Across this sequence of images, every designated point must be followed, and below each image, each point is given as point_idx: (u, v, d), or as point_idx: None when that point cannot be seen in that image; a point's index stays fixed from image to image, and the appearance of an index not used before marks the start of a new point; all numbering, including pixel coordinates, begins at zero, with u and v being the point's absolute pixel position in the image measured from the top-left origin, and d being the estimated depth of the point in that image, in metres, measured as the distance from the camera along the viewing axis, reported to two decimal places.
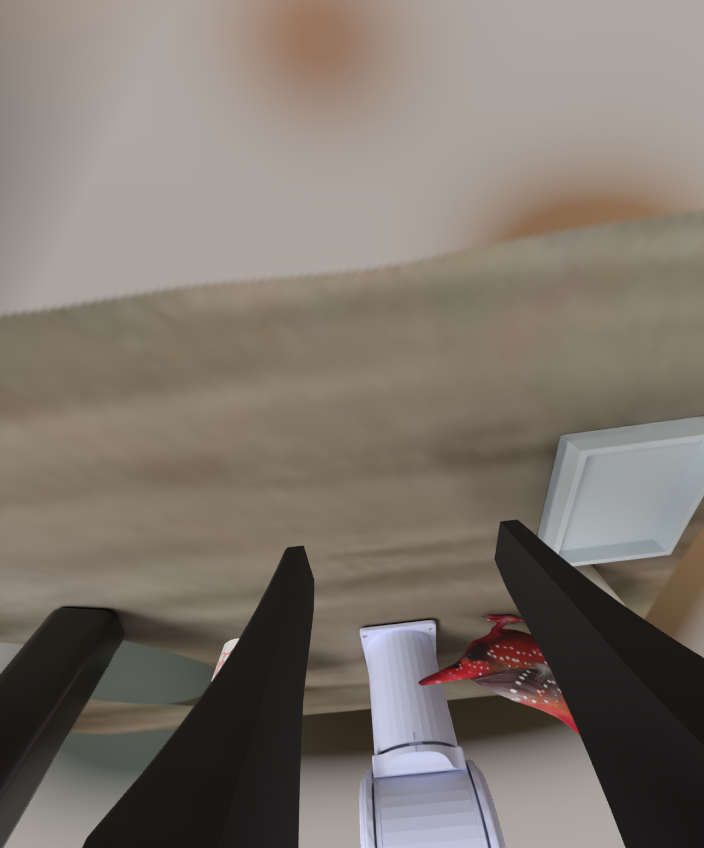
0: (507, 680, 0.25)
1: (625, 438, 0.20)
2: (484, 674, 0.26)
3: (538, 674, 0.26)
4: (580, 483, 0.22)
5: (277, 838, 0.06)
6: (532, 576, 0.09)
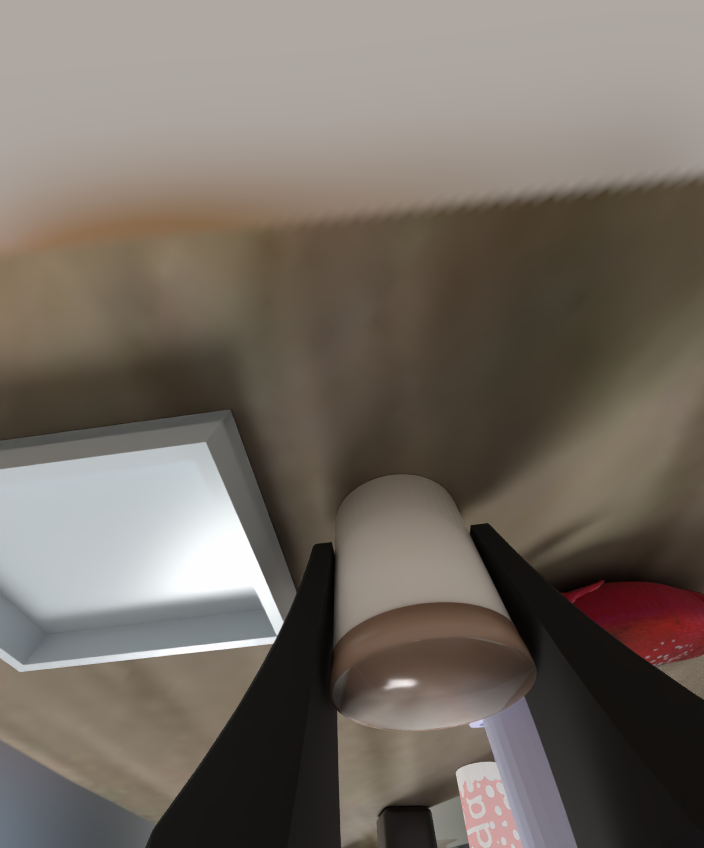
0: None
1: None
2: None
3: None
4: (108, 609, 0.13)
5: (326, 833, 0.06)
6: (497, 580, 0.09)
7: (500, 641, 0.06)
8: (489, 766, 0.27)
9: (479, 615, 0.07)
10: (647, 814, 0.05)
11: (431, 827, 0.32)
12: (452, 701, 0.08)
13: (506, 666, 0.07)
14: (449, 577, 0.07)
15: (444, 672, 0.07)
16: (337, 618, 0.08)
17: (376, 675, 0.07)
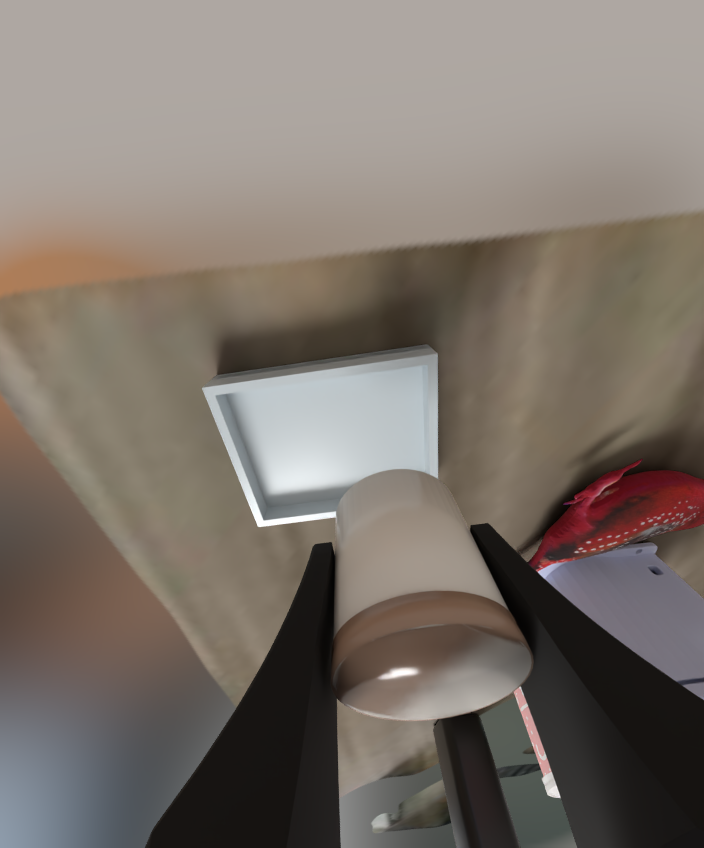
0: (596, 554, 0.22)
1: None
2: (568, 561, 0.22)
3: (640, 537, 0.20)
4: (314, 487, 0.20)
5: (326, 833, 0.06)
6: (497, 580, 0.09)
7: (496, 628, 0.07)
8: None
9: (476, 603, 0.07)
10: (647, 814, 0.05)
11: (482, 728, 0.39)
12: (451, 690, 0.08)
13: (503, 654, 0.07)
14: (447, 568, 0.08)
15: (442, 661, 0.07)
16: (337, 609, 0.08)
17: (374, 662, 0.07)
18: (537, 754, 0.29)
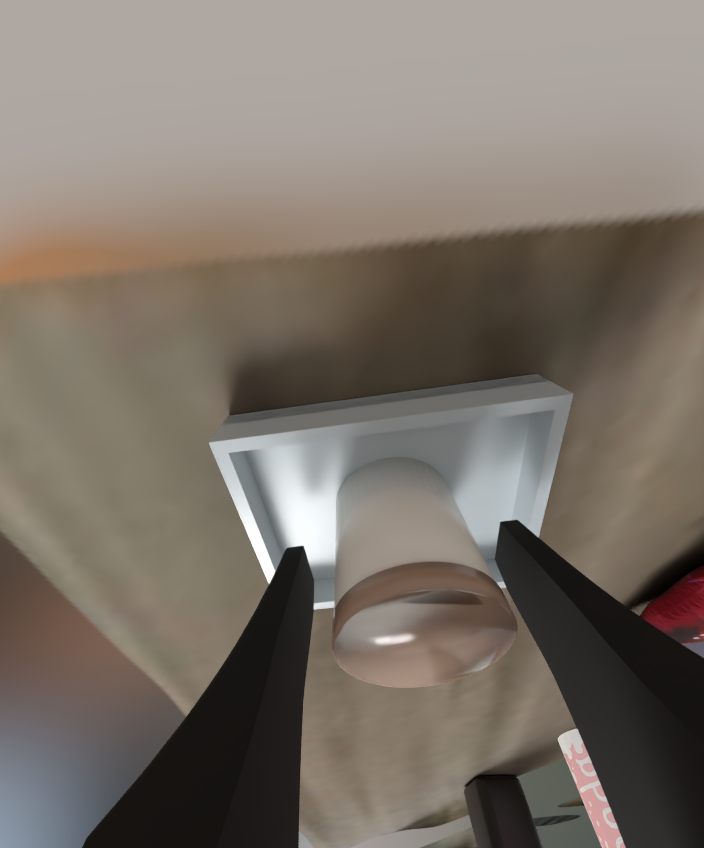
0: None
1: None
2: None
3: None
4: None
5: (277, 838, 0.06)
6: (531, 576, 0.09)
7: (482, 593, 0.07)
8: None
9: (464, 572, 0.08)
10: None
11: (522, 794, 0.34)
12: (443, 656, 0.09)
13: (489, 619, 0.08)
14: (438, 542, 0.08)
15: (434, 625, 0.08)
16: (338, 583, 0.09)
17: (373, 627, 0.08)
18: None
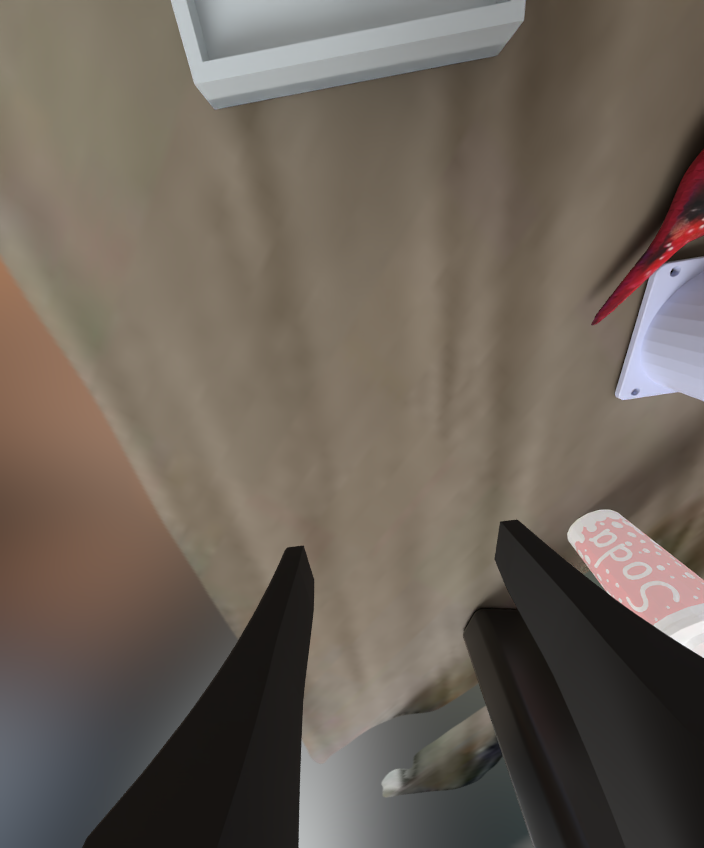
0: None
1: None
2: None
3: None
4: (295, 15, 0.11)
5: (277, 838, 0.06)
6: (531, 576, 0.09)
7: None
8: (609, 512, 0.25)
9: None
10: None
11: None
12: None
13: None
14: None
15: None
16: None
17: None
18: None
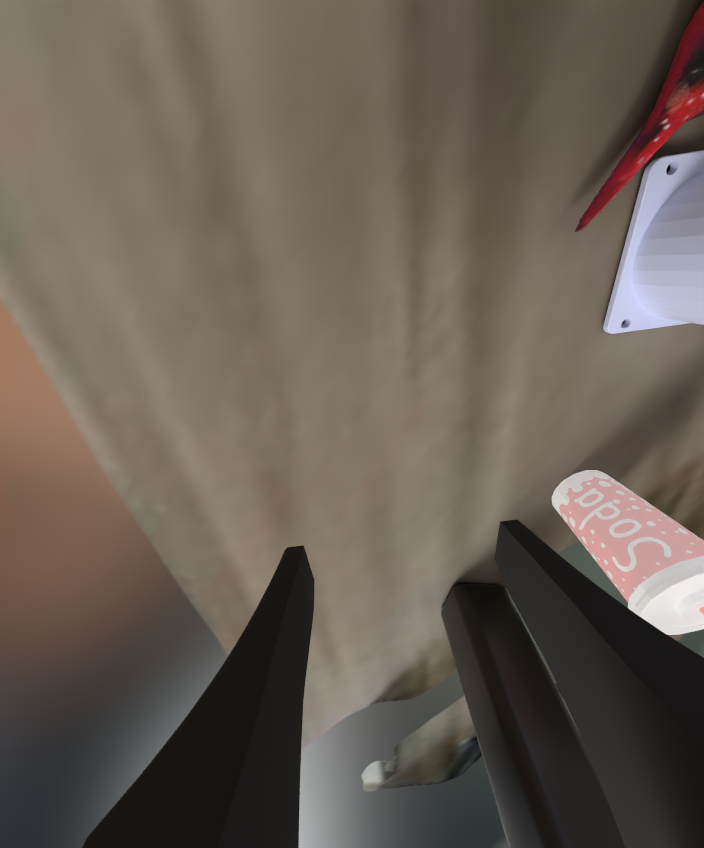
0: None
1: None
2: None
3: None
4: None
5: (277, 838, 0.06)
6: (532, 576, 0.09)
7: None
8: (597, 472, 0.23)
9: None
10: None
11: (510, 599, 0.28)
12: None
13: None
14: None
15: None
16: None
17: None
18: (616, 570, 0.18)
